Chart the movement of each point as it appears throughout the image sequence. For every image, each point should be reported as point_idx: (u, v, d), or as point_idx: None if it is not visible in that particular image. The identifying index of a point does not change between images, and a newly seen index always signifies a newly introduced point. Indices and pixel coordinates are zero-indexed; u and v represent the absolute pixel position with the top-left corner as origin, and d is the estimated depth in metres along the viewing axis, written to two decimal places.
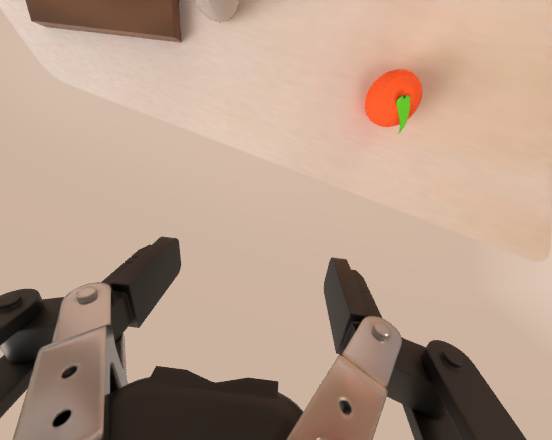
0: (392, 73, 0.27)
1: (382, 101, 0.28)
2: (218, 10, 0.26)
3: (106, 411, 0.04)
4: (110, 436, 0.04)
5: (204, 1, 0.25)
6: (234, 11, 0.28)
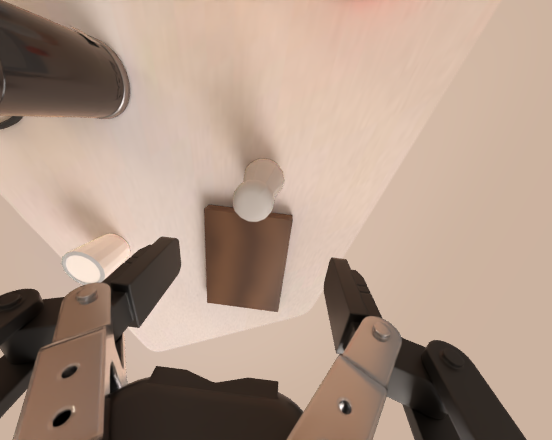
0: None
1: None
2: (280, 179, 0.29)
3: (106, 411, 0.04)
4: (110, 436, 0.04)
5: (277, 190, 0.28)
6: (277, 164, 0.30)
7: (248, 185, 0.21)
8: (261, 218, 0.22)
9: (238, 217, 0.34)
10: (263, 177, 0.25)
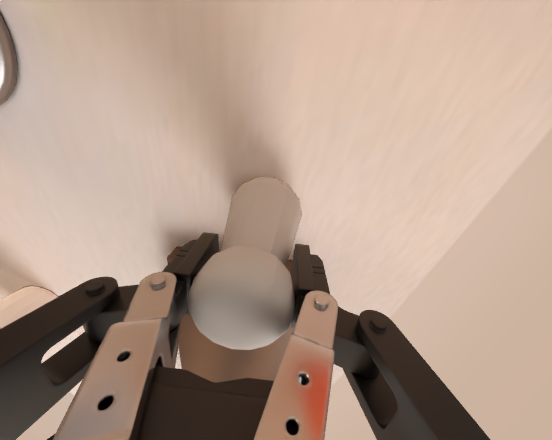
0: None
1: None
2: (297, 216, 0.15)
3: (139, 411, 0.04)
4: (138, 437, 0.04)
5: None
6: (290, 187, 0.16)
7: (228, 274, 0.07)
8: (263, 345, 0.09)
9: None
10: (265, 227, 0.11)
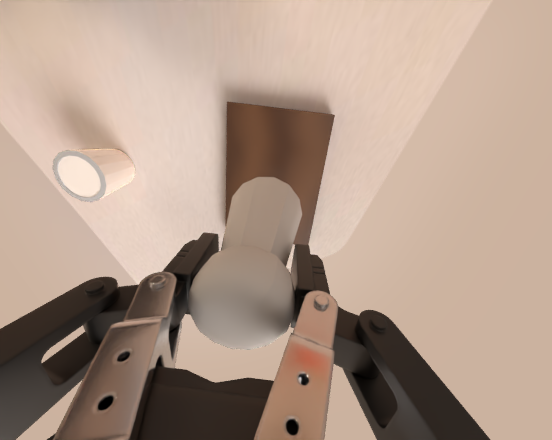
0: None
1: None
2: (297, 216, 0.15)
3: (140, 411, 0.04)
4: (138, 437, 0.04)
5: None
6: (290, 187, 0.16)
7: (228, 273, 0.07)
8: None
9: (269, 113, 0.28)
10: (265, 226, 0.11)
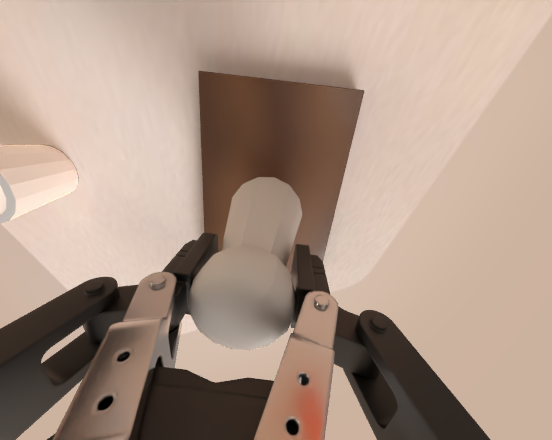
0: None
1: None
2: (297, 216, 0.15)
3: (140, 411, 0.04)
4: (138, 437, 0.04)
5: None
6: (290, 187, 0.16)
7: (228, 274, 0.07)
8: (264, 345, 0.09)
9: (263, 89, 0.18)
10: (266, 227, 0.11)
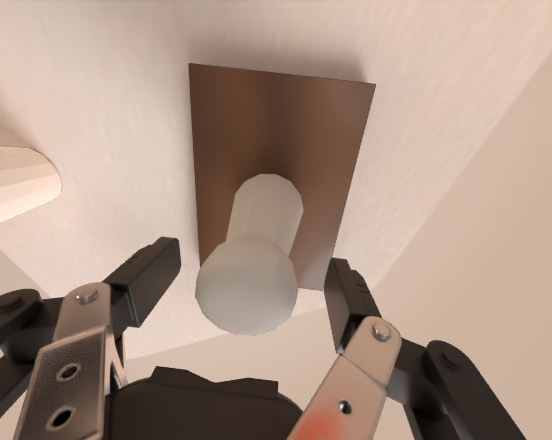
0: None
1: None
2: (298, 212, 0.16)
3: (105, 412, 0.04)
4: (110, 436, 0.04)
5: None
6: (292, 184, 0.17)
7: (234, 261, 0.08)
8: (267, 331, 0.09)
9: (261, 83, 0.16)
10: (268, 220, 0.12)
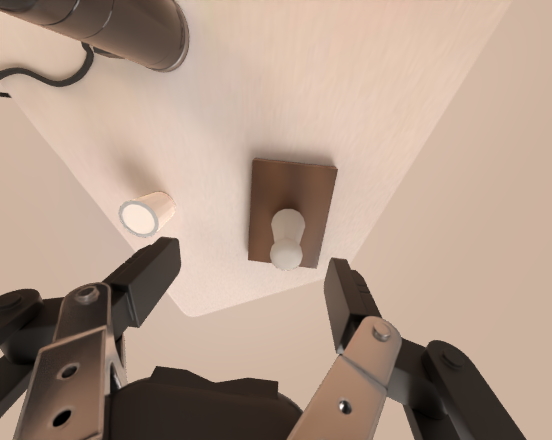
0: None
1: None
2: (302, 227, 0.35)
3: (105, 412, 0.04)
4: (110, 436, 0.04)
5: None
6: (299, 213, 0.36)
7: (284, 245, 0.27)
8: (292, 268, 0.28)
9: (285, 168, 0.36)
10: (291, 232, 0.31)
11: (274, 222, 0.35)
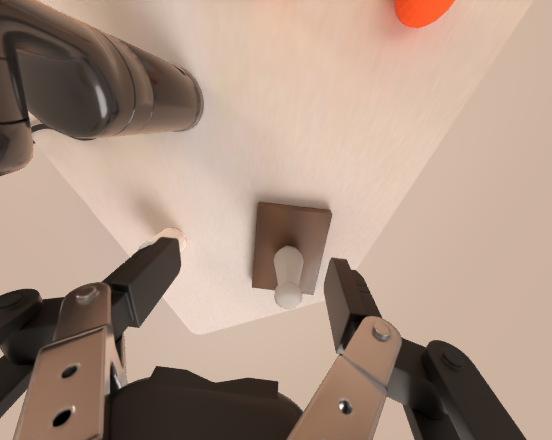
0: None
1: (438, 2, 0.24)
2: (301, 264, 0.40)
3: (106, 411, 0.04)
4: (110, 436, 0.04)
5: None
6: (298, 252, 0.41)
7: (286, 289, 0.32)
8: (293, 307, 0.33)
9: (286, 212, 0.41)
10: (292, 273, 0.36)
11: (276, 260, 0.40)
